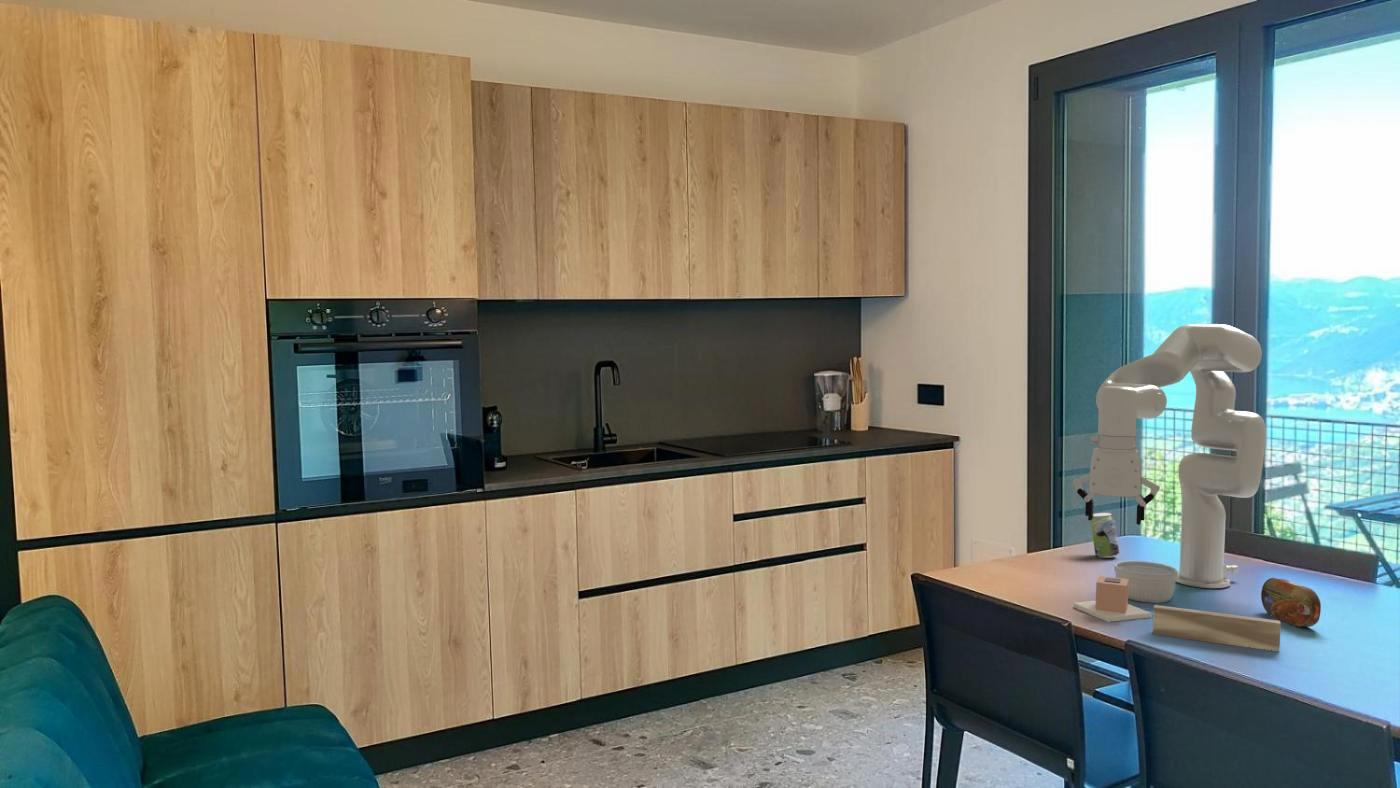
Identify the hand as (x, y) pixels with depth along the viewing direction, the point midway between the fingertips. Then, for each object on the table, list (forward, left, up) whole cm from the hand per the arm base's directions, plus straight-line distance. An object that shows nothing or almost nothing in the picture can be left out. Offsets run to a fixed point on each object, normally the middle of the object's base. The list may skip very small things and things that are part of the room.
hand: (1114, 521), depth 206 cm
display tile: (0, 0, -20) cm, 20 cm away
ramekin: (-16, -8, -20) cm, 27 cm away
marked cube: (0, 0, -19) cm, 19 cm away
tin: (-32, +16, -20) cm, 41 cm away
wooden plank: (-6, +22, -20) cm, 30 cm away
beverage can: (-33, -42, -20) cm, 57 cm away
